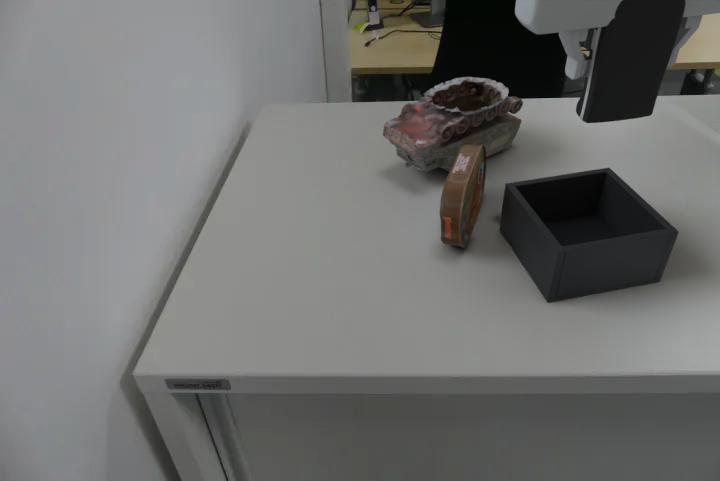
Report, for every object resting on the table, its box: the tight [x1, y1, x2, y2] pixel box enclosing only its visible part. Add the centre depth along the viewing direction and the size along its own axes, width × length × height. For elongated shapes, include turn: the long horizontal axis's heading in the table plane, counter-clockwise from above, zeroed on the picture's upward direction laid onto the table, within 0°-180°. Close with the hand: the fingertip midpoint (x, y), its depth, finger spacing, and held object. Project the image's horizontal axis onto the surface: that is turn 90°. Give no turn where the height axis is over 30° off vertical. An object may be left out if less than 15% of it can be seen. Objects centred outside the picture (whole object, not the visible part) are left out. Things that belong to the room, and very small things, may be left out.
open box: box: [499, 167, 680, 303], centre depth 61 cm, size 13×13×7 cm
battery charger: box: [575, 0, 686, 124], centre depth 49 cm, size 7×4×11 cm, turn 99°
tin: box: [439, 145, 487, 248], centre depth 66 cm, size 15×3×8 cm, turn 160°
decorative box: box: [382, 76, 524, 173], centre depth 76 cm, size 13×20×10 cm, turn 120°
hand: (619, 70), depth 50 cm, fingers closed on battery charger, 7 cm apart
